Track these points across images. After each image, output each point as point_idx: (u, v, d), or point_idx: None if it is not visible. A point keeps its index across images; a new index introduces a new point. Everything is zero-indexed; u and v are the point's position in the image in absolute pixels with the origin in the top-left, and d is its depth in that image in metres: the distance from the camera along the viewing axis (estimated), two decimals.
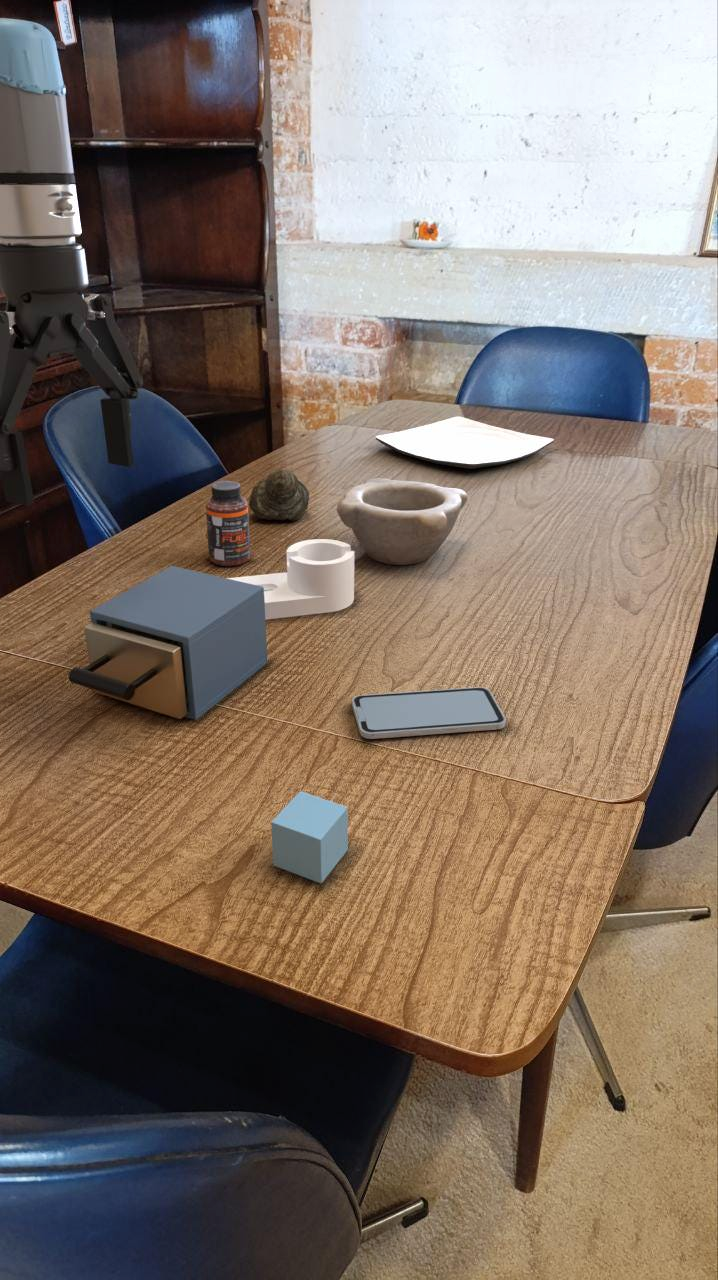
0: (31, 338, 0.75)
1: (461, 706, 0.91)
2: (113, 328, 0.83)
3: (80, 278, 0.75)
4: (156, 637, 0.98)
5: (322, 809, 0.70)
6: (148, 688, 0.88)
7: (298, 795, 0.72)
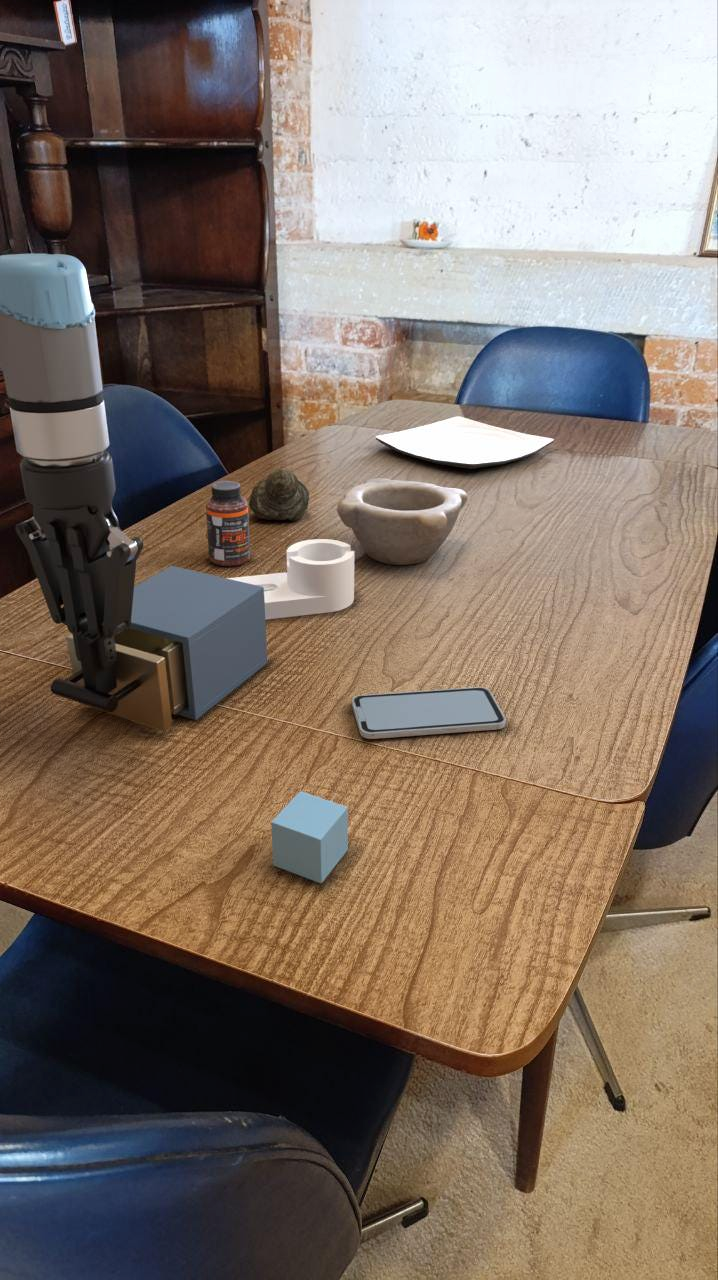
0: None
1: (461, 706, 0.91)
2: None
3: None
4: (142, 646, 0.96)
5: (322, 809, 0.70)
6: (132, 699, 0.87)
7: (298, 795, 0.72)
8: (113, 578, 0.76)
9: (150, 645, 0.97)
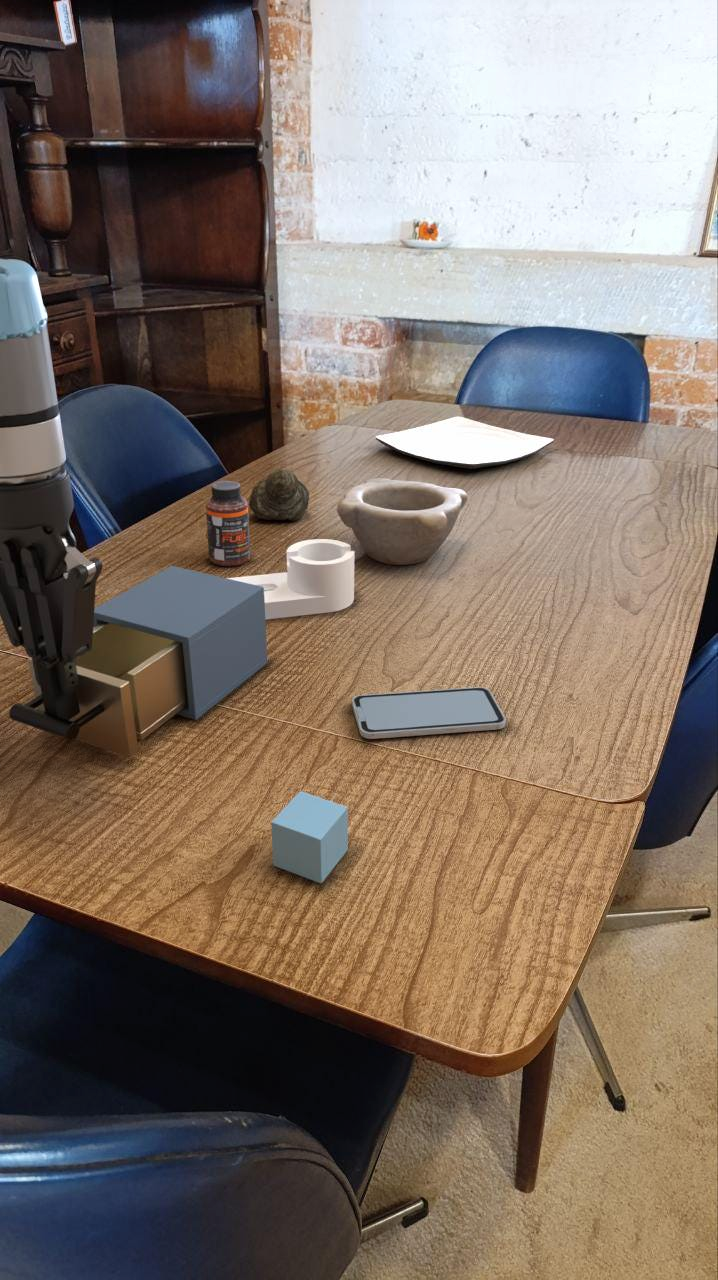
0: None
1: (461, 706, 0.91)
2: None
3: None
4: (110, 666, 0.92)
5: (322, 809, 0.70)
6: (96, 724, 0.83)
7: (298, 795, 0.72)
8: (70, 601, 0.72)
9: (119, 665, 0.93)
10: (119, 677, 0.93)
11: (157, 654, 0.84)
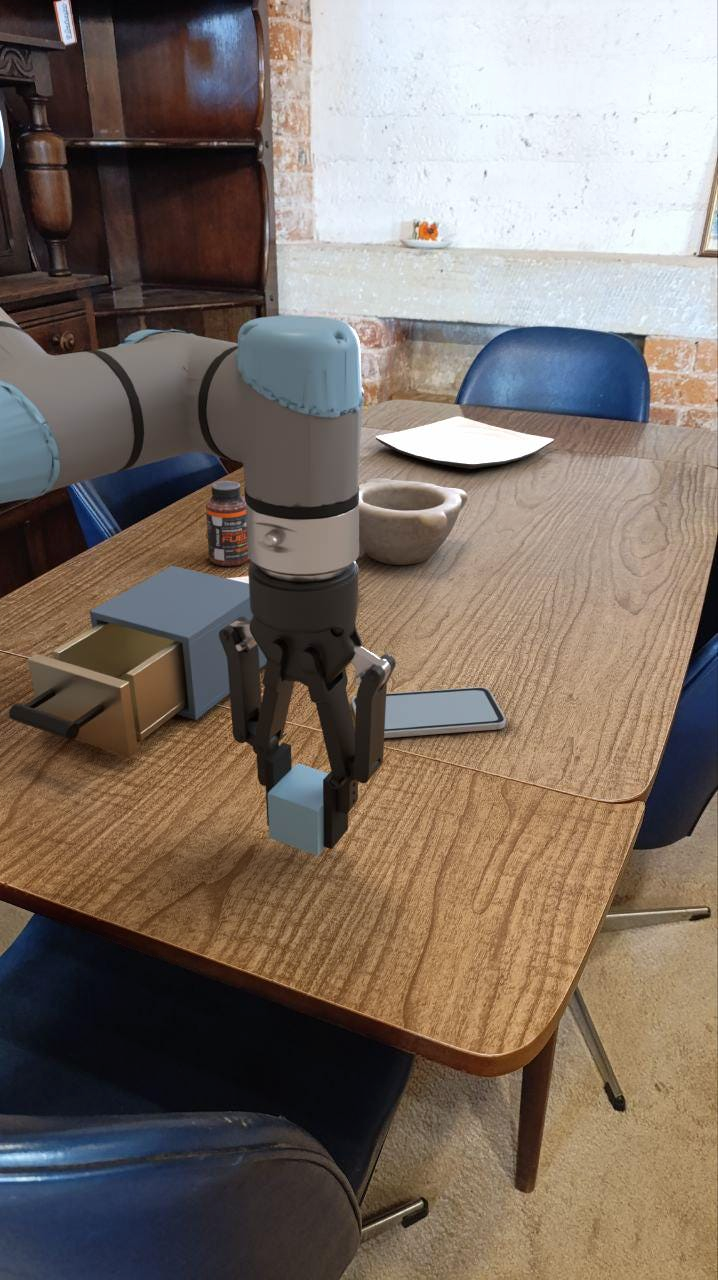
0: (261, 650, 0.64)
1: (461, 706, 0.91)
2: (363, 705, 0.61)
3: (284, 621, 0.58)
4: (110, 667, 0.92)
5: (319, 781, 0.69)
6: (96, 725, 0.83)
7: (295, 767, 0.71)
8: None
9: (119, 665, 0.93)
10: (119, 677, 0.93)
11: (157, 654, 0.84)
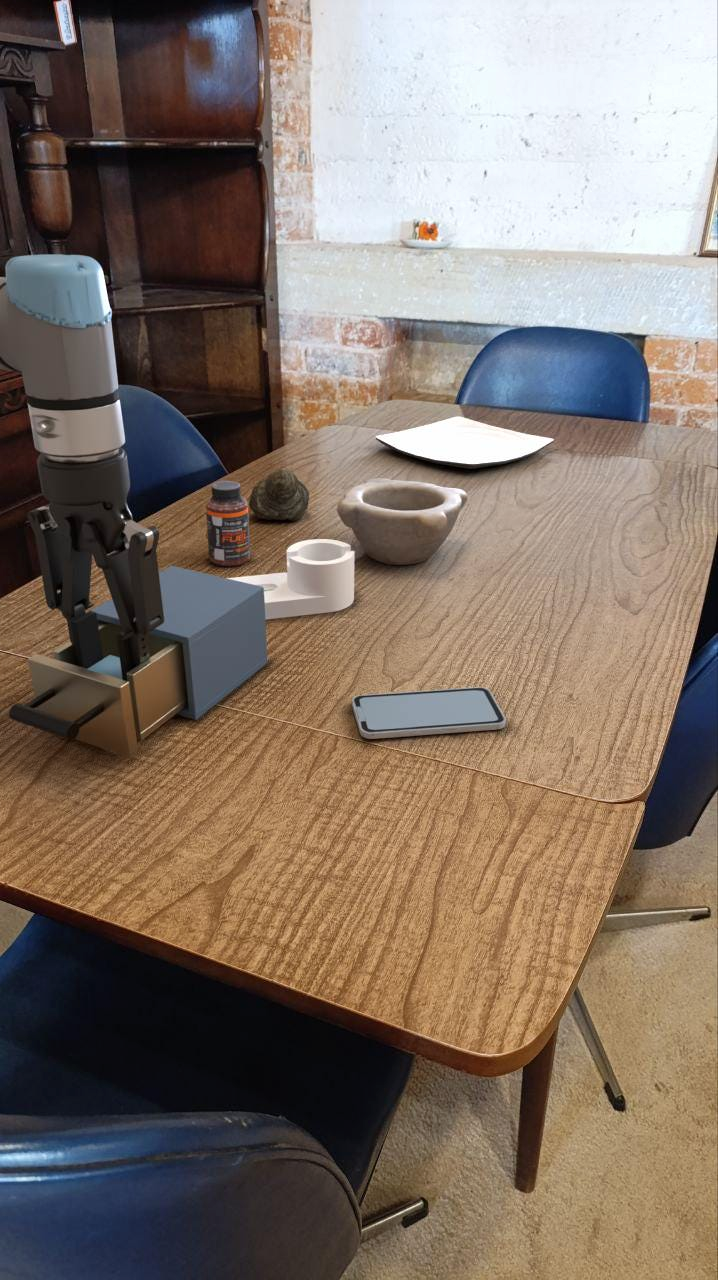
0: (59, 528, 0.80)
1: (461, 706, 0.91)
2: (134, 565, 0.77)
3: (60, 494, 0.74)
4: None
5: None
6: (96, 725, 0.83)
7: (107, 657, 0.88)
8: None
9: None
10: None
11: (157, 654, 0.84)
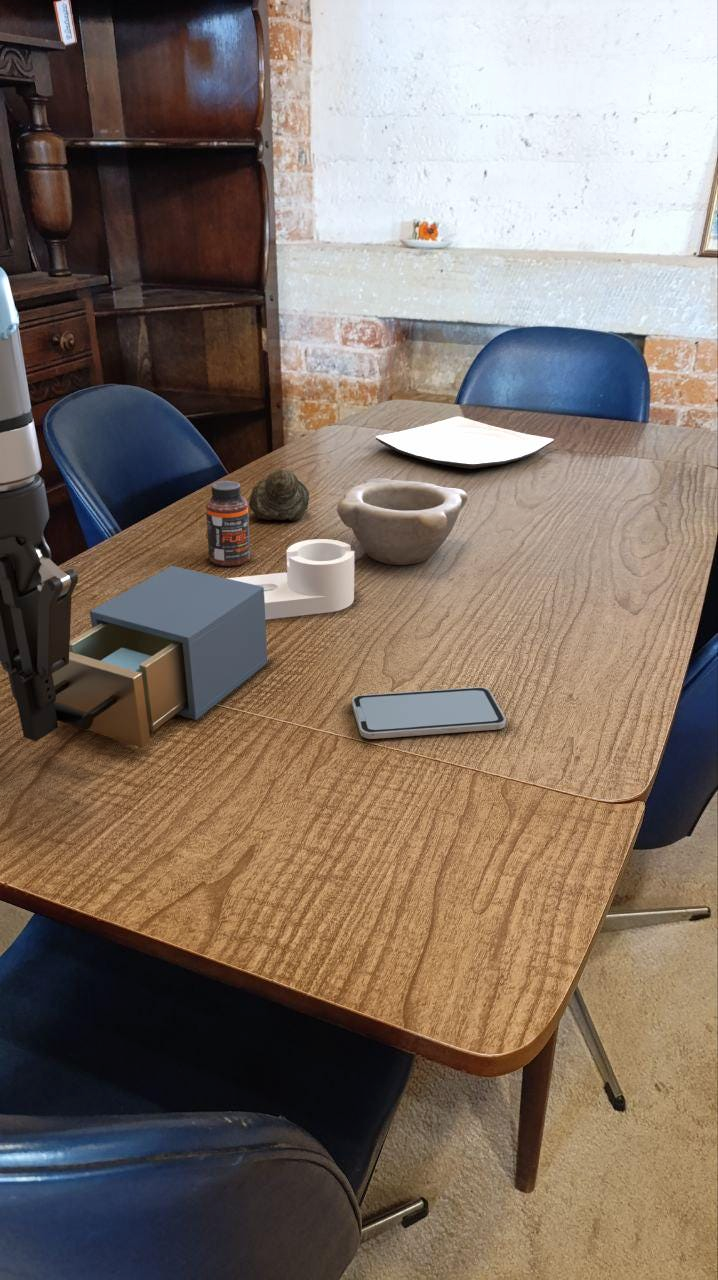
0: None
1: (461, 706, 0.91)
2: (43, 609, 0.70)
3: None
4: None
5: (135, 658, 0.88)
6: (109, 715, 0.84)
7: (119, 649, 0.89)
8: None
9: None
10: None
11: (169, 646, 0.86)
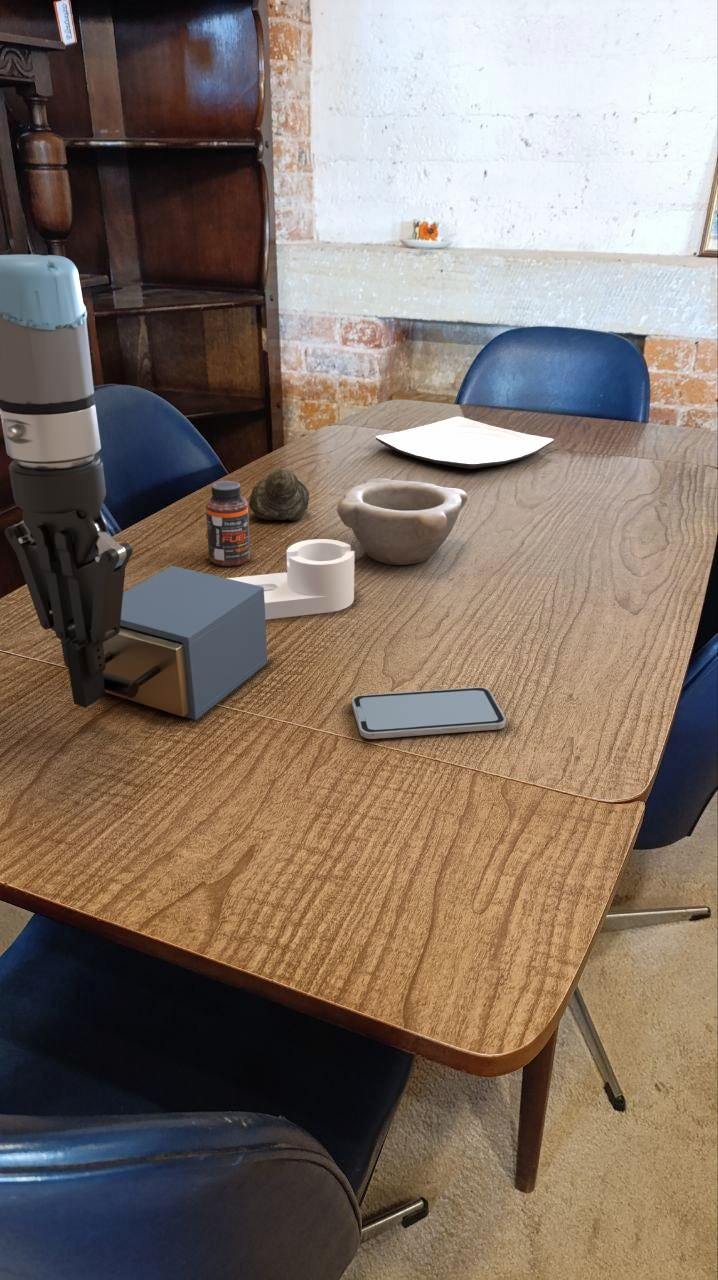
0: (33, 537, 0.77)
1: (461, 706, 0.91)
2: (100, 579, 0.75)
3: (32, 502, 0.71)
4: None
5: None
6: (151, 686, 0.89)
7: None
8: None
9: None
10: None
11: None
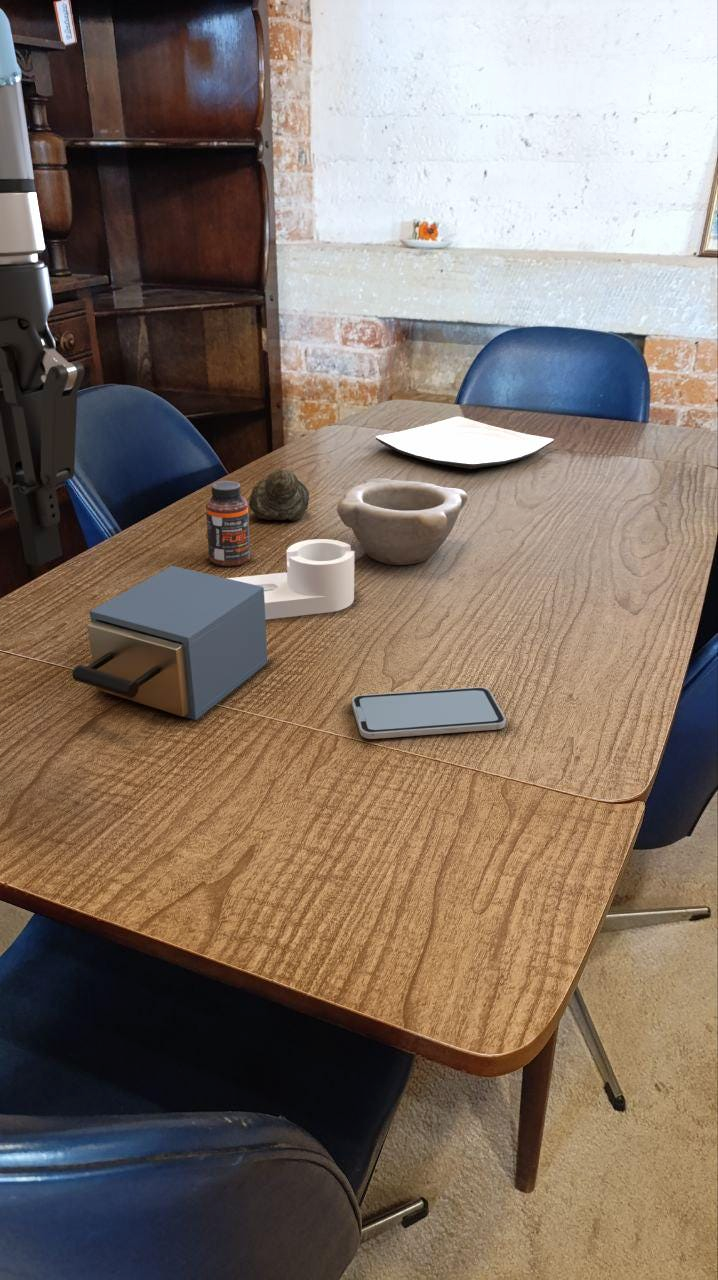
0: None
1: (461, 706, 0.91)
2: (48, 404, 0.65)
3: None
4: None
5: None
6: (151, 686, 0.89)
7: None
8: None
9: None
10: None
11: None
